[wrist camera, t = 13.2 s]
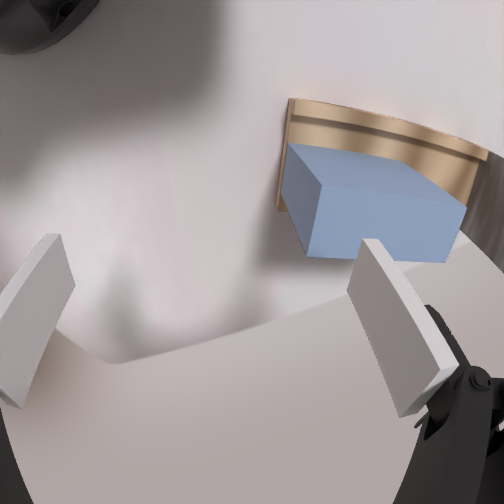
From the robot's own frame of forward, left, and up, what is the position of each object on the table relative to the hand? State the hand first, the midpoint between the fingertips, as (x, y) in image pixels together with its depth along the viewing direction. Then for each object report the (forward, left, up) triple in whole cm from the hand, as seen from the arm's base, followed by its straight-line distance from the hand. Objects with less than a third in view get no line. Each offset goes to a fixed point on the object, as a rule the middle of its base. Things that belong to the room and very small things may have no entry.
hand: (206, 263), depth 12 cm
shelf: (+17, +1, -16) cm, 24 cm away
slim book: (+11, 0, -15) cm, 18 cm away
